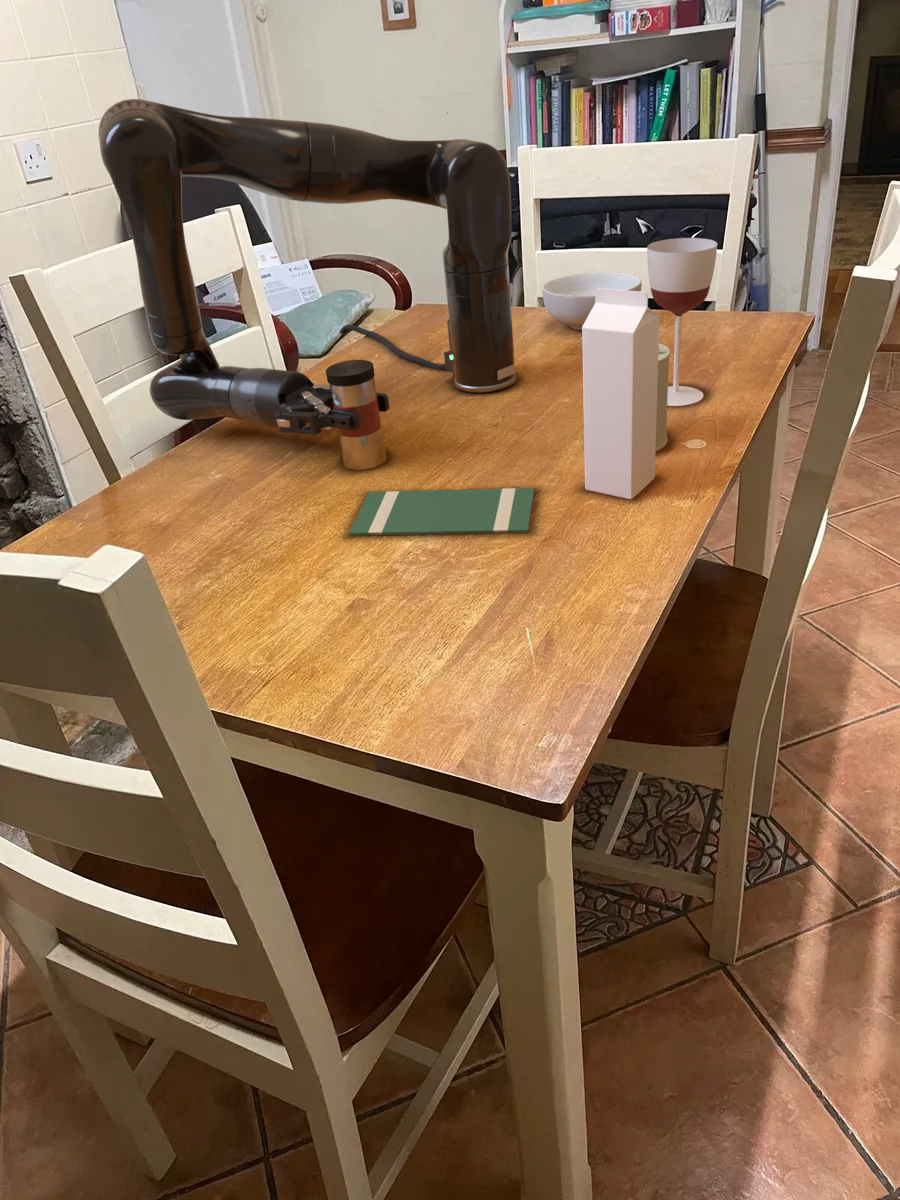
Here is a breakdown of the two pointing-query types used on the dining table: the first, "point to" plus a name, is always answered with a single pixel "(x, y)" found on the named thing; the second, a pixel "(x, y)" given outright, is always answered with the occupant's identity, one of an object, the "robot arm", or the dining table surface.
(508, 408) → the dining table surface
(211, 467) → the dining table surface
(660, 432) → the can
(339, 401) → the jar
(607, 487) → the milk
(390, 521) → the towel
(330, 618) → the dining table surface
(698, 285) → the wineglass
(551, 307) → the cereal bowl
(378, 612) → the dining table surface
